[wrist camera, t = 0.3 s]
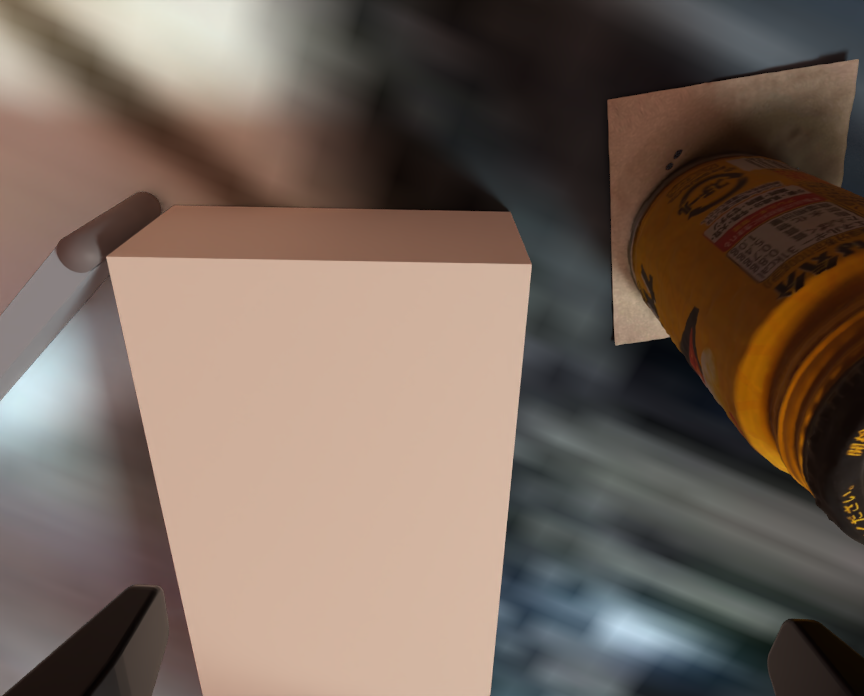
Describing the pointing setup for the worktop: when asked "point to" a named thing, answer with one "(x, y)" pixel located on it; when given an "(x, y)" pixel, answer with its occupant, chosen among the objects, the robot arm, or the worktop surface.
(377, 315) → the cabinet
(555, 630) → the worktop surface
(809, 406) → the condiment
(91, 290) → the door
